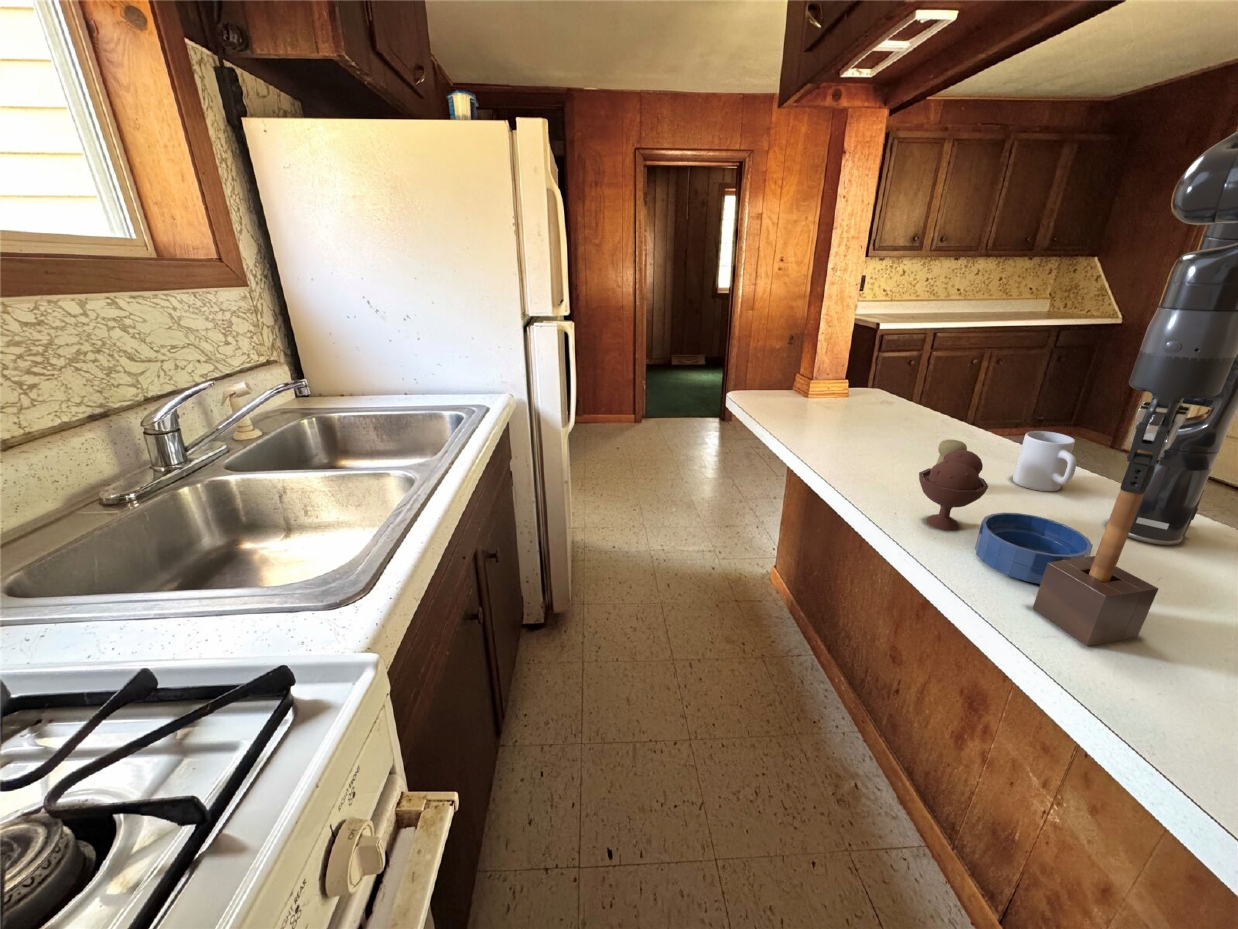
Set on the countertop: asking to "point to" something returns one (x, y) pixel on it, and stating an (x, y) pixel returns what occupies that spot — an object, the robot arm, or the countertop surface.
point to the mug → (1045, 461)
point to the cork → (949, 448)
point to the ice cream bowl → (952, 486)
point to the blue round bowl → (1027, 544)
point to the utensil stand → (1093, 601)
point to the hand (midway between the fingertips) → (1133, 488)
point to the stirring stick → (1116, 534)
